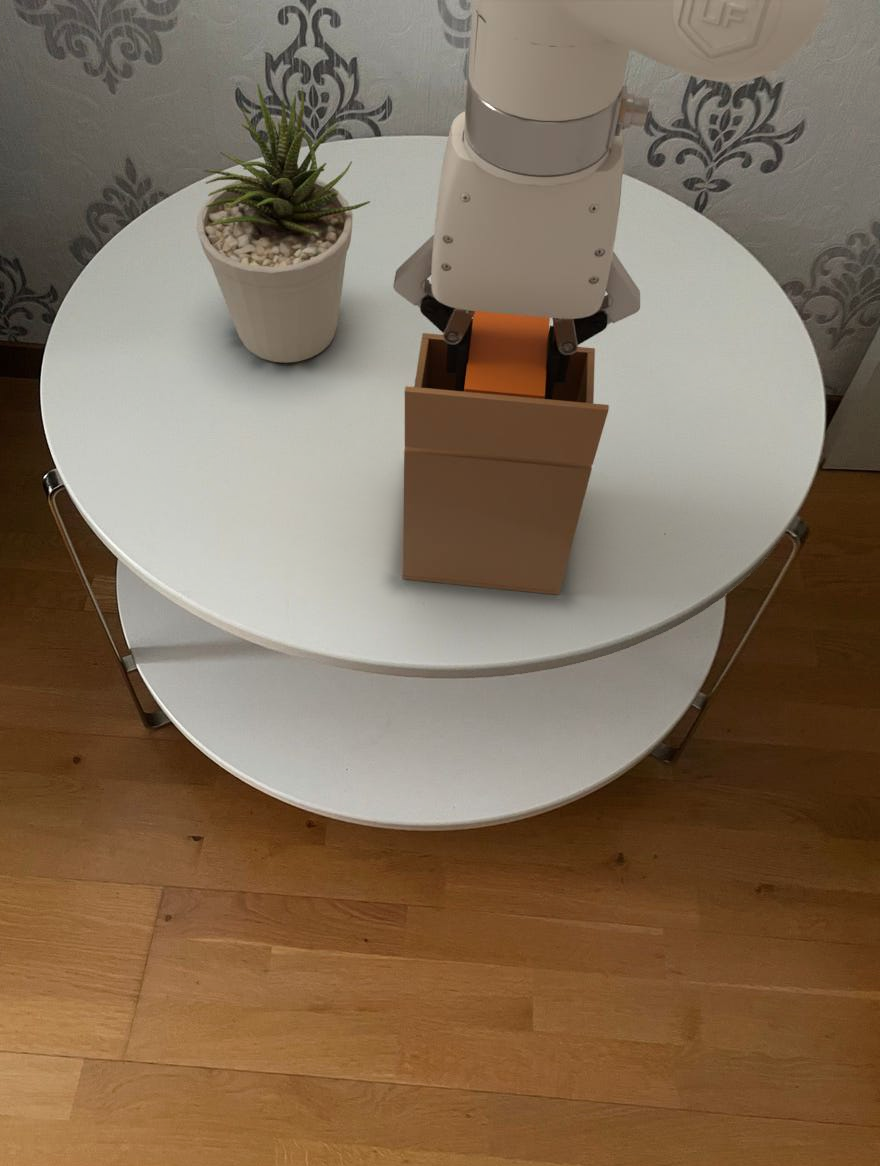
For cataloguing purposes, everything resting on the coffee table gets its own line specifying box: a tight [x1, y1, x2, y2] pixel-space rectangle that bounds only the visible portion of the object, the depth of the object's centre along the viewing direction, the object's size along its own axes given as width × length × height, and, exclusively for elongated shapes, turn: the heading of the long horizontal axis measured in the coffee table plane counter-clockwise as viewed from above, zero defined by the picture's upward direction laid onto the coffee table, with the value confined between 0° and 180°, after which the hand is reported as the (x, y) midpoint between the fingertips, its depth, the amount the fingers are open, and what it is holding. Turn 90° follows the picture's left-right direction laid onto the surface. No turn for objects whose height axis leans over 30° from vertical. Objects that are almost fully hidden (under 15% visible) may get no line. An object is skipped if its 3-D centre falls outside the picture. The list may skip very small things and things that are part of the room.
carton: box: [402, 332, 596, 596], centre depth 72 cm, size 12×11×14 cm
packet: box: [464, 311, 551, 399], centre depth 64 cm, size 8×5×3 cm, turn 173°
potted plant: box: [196, 82, 371, 364], centre depth 81 cm, size 13×14×20 cm
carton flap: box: [404, 385, 610, 466], centre depth 60 cm, size 12×5×1 cm
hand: (504, 379), depth 65 cm, fingers closed on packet, 5 cm apart
